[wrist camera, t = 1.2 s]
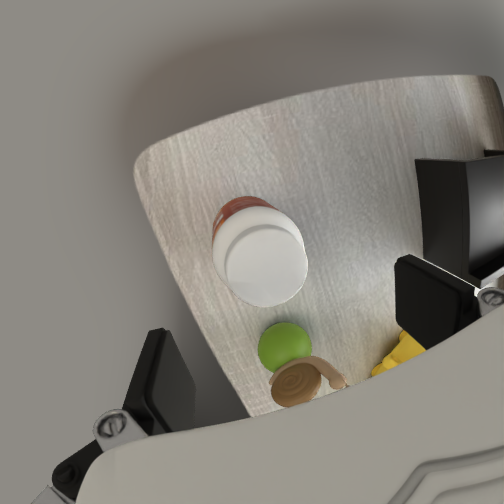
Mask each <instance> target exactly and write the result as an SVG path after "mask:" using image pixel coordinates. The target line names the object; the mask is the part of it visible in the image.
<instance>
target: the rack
mask: <svg viewBox="0 0 504 504" xmlns="http://www.w3.org/2000/svg"><path fill="white" fill-rule="evenodd" d="M484 154H485V157H483V158H477V159H470V160H452V159H427V158H421V159H415V166H416V173H417V180H418V187H419V196H420V206H421V217H422V232H423V259H425V260H427V261H429V262H431V263H433V264H434V265H436V266H438V267H440V268H442V269H444V270H446V271H448V272H450V273H452V274H454V275H455V276H457V277H459V278H461V279H463V280H465V281H466V282H468V283H470V284H472V285H474V286H475V287H477V288H479V289H481V288H483V287H484V286H486V285H488V284H489V283H491V282H492V281H494V280H495V279H497V278H498V277H500V276H501V275H503V274H504V150H484Z"/></svg>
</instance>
